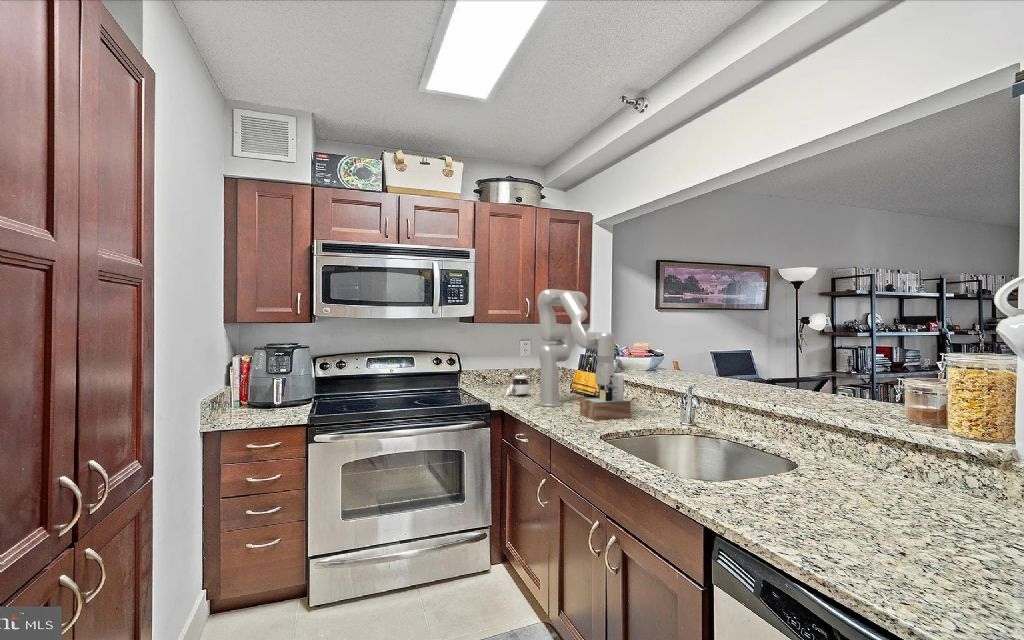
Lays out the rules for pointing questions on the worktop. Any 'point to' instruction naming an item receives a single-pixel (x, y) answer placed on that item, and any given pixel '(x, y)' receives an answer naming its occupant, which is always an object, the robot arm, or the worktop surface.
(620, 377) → the supplement box
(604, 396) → the cover plate
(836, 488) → the worktop surface
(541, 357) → the robot arm
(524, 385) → the spread jar
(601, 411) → the slide box
